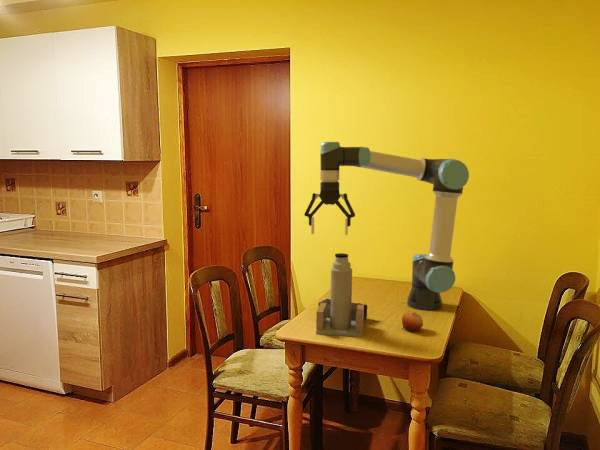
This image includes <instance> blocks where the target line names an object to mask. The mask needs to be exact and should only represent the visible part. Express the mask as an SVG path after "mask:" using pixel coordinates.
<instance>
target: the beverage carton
mask: <svg viewBox="0 0 600 450" xmlns="http://www.w3.org/2000/svg"><path fill="white" fill-rule="evenodd" d="M317 303H318V304H317V305H318V307H319V305H320V303H327V317H326V318H327V319H330V309H331V298H326V299H322V300H321V301H319V302H317ZM358 305H364V321H365V320H367V319H368V304H363V303H360V302H359V303H358V302H351V321H356V311H357V306H358Z"/></svg>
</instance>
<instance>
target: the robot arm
mask: <svg viewBox="0 0 600 450" xmlns="http://www.w3.org/2000/svg"><path fill="white" fill-rule="evenodd" d="M340 144H341V143H340V142H339V141H324V142H323V141H322V142H321V144H320V153H319V154H320V178H319V179H320V191H319V192H320V193H315V192H314V193H312V196H311V200H310V202H309V204H308V205H307V208H306V209H305V212H304V217H307V218H308V226H311V229H310V231H311V233H310V234H311V235H314V234H315V216H314V215H315V214H316V213H317V212H318V210H319V209H320V208H321V207H322V206H323V205H326V206H327V205H331V206H334V205H335V206H337V207H338V208H339V210H340V211H341V212H342V214H344V216H345V218H344V219H345V226H344V227H345V228H344V230H345V233H344V235H345V236H347V235H348V234H349V233H348V231H349V227H351V225H352V224H351V219H352V218H355V216H356V212H355V211H354V209H353V207H352V205H351V203H350V201H349V199H348V193H346V192H345V193H340V182H339V181H340V168H341V167H356V168H363V169H367V170H372V171H373V170H374V171H379V172H384V173H389V174H395V175H401V176H406V177H412V178H416V180H417V181H420V182H424V183H428V184H431V185H432V192H433V193H434V195H435V200H434V209H433V217H432V223H431V224H432V225H431V233H430V241H429V250H428V253H416V254H414V255H413V257H412V260H411V261H412V262H411V263H412V267H411V269H412V272H411V273H412V274H411V276H412V277H411V288H410V292H409V293H408V296H407V299H406V301H407V302H406V303H407V306H408V307H410V308H412V309H416V310H422V311H423V310H425V311H432V310H433V311H435V310H439V309H441V308H443V299H442V295H441V293H446V292H448V291H449V290H450V289H452V288H453V287H454V285H455V283H456V274H455V271H454V270H453V267H454V259H453V257H452V256H451V252H452V247H453V246H452V245H453V237H454V229H455V222H456V213H457V205H458V199H459V198H460V197H461V196H462V195H463V190H464V187H465V185H467V183H468V182H469V177H470V172H469V169H468V167H467V165H466V164H465V163H464V162H463V161H461V160H458V159H455V158H433V159H432V158H425V157H423V158H422V157H421V158H420V159H416V158H411V157H406V156H399V155H395V154H389V153H385V152H384V153H383V152H378V151H377V152H376V151H373V150H370V148H369V147H368V146H367V147H366V146H341V145H340ZM318 198H319V199H320V202H319V203H318V205H317V206H316V207H315V208H314V209H313V210H312V211H311V209H312V208H313V205H314V203H315V202H316V200H317V199H318ZM340 198H341V200H344V201H343V202H344V203H345V205H346V207H347V209H348V211H349V212H348V211H347V209H346V208H345V207H344V205H342V204H341V202H340ZM310 212H311V213H310Z"/></svg>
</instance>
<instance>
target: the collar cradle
mask: <svg viewBox="0 0 600 450" xmlns="http://www.w3.org/2000/svg"><path fill="white" fill-rule="evenodd" d="M364 321H365V320H364V305H358V306H357V311H356V321H351V327H350V328H348V329H335V328H332V327H331V326H330V318H328V317H327V303H320V305H319V306H318V308H317V310H316V325H315V326H316V327H315V328H316V330H315V334H316V335H328V336H329V335H330V336H345V337H356V338H357V337H358V338H361V337H363V329H364Z"/></svg>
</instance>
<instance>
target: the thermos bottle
mask: <svg viewBox="0 0 600 450" xmlns="http://www.w3.org/2000/svg"><path fill="white" fill-rule="evenodd" d="M334 256H335V258H334V259H335V260H334V262H332V267H331V269H330V299H331V309H330V318H329V320H330V326H331V327H332V328H335V329H348V328H350V327H351V303H353V302H352V295H353V293H352V292H353V291H352V289H353V287H352V286H353V269H352V268H351V266H352V265H351V262H350V261H349V254H348V253H342V252H341V253H339V252H338V253H335V254H334Z"/></svg>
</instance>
